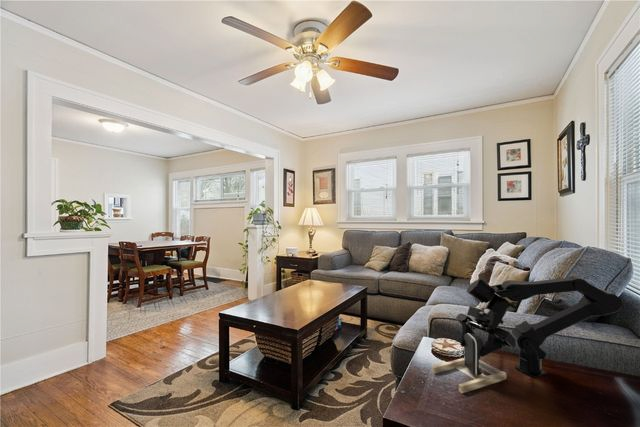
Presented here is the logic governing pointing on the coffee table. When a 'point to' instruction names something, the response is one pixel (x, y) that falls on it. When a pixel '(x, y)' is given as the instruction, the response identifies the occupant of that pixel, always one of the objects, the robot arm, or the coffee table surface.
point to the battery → (472, 352)
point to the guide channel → (478, 379)
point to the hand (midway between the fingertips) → (470, 350)
